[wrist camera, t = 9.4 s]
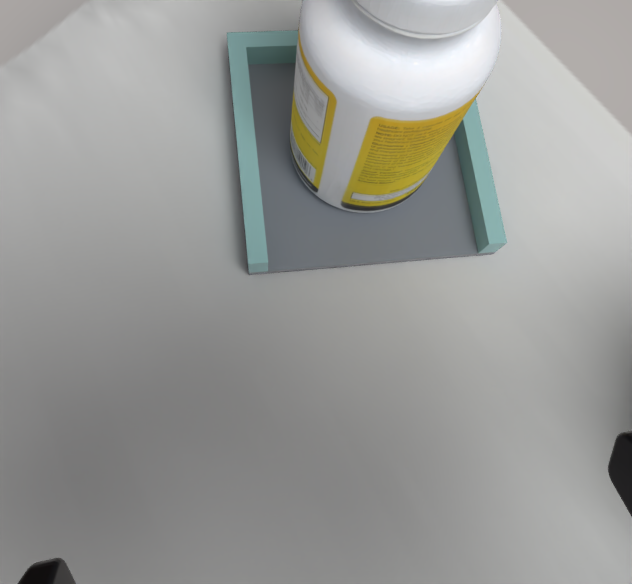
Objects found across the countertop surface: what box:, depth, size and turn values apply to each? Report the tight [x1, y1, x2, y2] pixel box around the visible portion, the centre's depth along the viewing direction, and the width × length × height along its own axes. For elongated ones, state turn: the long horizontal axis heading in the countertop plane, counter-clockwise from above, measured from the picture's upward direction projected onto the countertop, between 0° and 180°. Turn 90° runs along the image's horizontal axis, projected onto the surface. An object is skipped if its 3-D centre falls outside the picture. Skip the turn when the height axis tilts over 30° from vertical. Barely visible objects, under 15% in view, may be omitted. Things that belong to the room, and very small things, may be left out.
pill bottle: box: [290, 0, 501, 213], centre depth 20 cm, size 6×6×12 cm
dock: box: [227, 30, 507, 275], centre depth 25 cm, size 11×11×2 cm
